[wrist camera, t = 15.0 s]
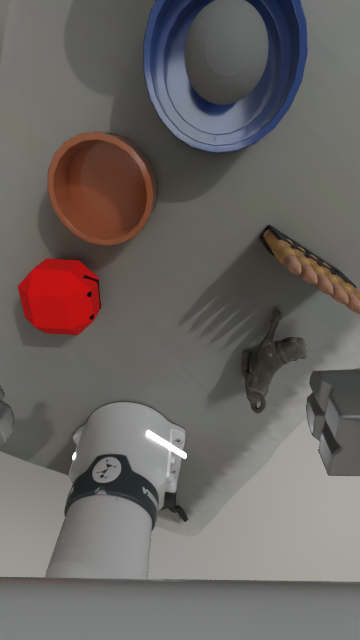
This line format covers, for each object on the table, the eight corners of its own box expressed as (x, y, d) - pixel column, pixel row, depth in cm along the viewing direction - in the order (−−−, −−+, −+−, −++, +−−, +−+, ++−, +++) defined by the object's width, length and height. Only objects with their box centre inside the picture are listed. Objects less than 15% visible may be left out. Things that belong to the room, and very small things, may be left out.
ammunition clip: (258, 238, 37) (282, 276, 27) (268, 224, 36) (297, 258, 26) (329, 283, 39) (377, 335, 29) (340, 270, 39) (393, 319, 28)
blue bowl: (285, 144, 32) (299, 145, 28) (158, 156, 33) (152, 158, 29) (297, -34, 26) (318, -68, 22) (141, -13, 27) (131, -42, 23)
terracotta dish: (162, 231, 37) (158, 241, 33) (76, 237, 38) (62, 248, 34) (151, 128, 32) (145, 127, 28) (53, 138, 33) (33, 138, 29)
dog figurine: (265, 385, 48) (275, 423, 41) (229, 372, 47) (235, 409, 40) (311, 320, 42) (332, 353, 36) (272, 304, 41) (286, 335, 35)
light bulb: (265, 50, 29) (295, 11, 20) (233, 123, 31) (247, 116, 23) (203, 15, 28) (207, -42, 19) (176, 93, 30) (168, 75, 22)
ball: (106, 313, 43) (90, 345, 36) (47, 310, 43) (19, 341, 36) (101, 255, 39) (82, 279, 32) (36, 252, 39) (3, 275, 32)
